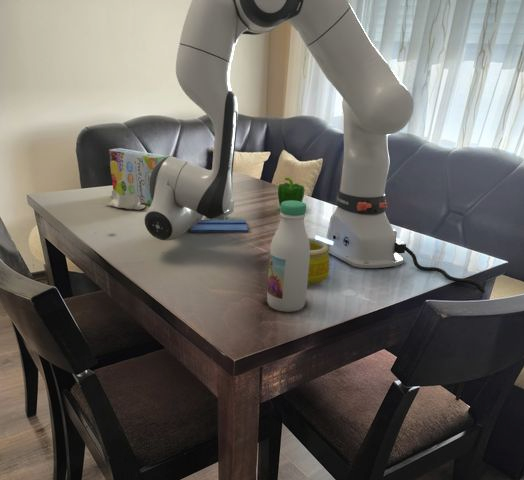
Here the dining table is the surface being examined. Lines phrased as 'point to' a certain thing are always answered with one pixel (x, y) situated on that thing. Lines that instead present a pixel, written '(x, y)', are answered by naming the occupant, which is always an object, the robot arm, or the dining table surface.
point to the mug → (318, 261)
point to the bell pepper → (290, 191)
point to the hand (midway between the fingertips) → (206, 196)
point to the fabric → (126, 201)
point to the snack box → (133, 172)
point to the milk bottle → (289, 260)
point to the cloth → (220, 226)
